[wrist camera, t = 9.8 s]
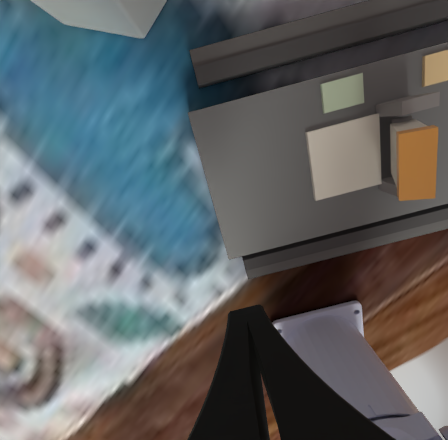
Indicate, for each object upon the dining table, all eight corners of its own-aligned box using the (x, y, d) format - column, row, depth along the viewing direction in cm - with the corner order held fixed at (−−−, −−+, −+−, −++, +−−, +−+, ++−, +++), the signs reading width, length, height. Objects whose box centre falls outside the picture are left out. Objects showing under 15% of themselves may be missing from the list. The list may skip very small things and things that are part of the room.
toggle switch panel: (585, 154, 20) (681, 161, 16) (226, 247, 20) (231, 276, 16) (624, -5, 16) (760, -47, 12) (189, 114, 17) (184, 110, 13)
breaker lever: (414, 170, 16) (435, 200, 12) (388, 173, 17) (399, 202, 13) (414, 113, 15) (438, 124, 11) (386, 119, 16) (398, 132, 11)
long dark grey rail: (545, -7, 16) (581, -21, 14) (199, 88, 16) (198, 84, 15) (551, -44, 15) (589, -63, 14) (190, 56, 16) (189, 49, 14)
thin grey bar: (513, 201, 21) (537, 207, 19) (245, 269, 21) (248, 280, 20) (516, 179, 20) (541, 184, 18) (240, 250, 20) (243, 260, 19)
